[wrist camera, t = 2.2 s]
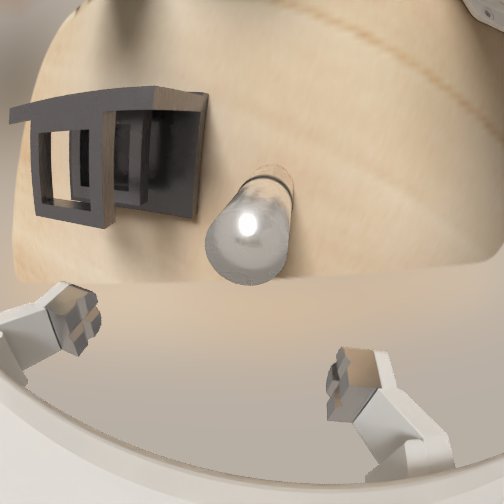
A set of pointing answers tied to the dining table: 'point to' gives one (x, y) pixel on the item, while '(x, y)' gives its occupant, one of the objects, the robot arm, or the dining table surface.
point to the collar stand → (118, 152)
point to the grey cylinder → (253, 229)
